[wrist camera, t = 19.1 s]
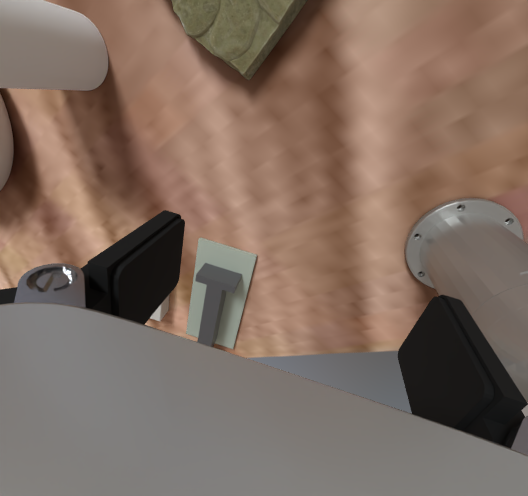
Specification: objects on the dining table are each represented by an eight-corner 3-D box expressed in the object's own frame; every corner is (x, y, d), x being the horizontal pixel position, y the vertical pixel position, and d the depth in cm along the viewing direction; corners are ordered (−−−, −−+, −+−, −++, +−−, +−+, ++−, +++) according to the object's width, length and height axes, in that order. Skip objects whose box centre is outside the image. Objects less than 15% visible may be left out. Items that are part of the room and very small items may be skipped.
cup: (121, 69, 36) (-14, 51, 22) (77, 102, 39) (-66, 105, 25) (78, -7, 33) (-108, -83, 19) (34, 35, 36) (-154, -4, 22)
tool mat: (257, 254, 44) (256, 256, 43) (233, 346, 53) (232, 349, 53) (200, 237, 44) (198, 239, 44) (187, 331, 54) (186, 333, 53)
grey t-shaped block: (226, 342, 52) (219, 357, 49) (194, 332, 53) (186, 346, 50) (241, 274, 45) (235, 287, 42) (205, 262, 45) (196, 274, 42)
